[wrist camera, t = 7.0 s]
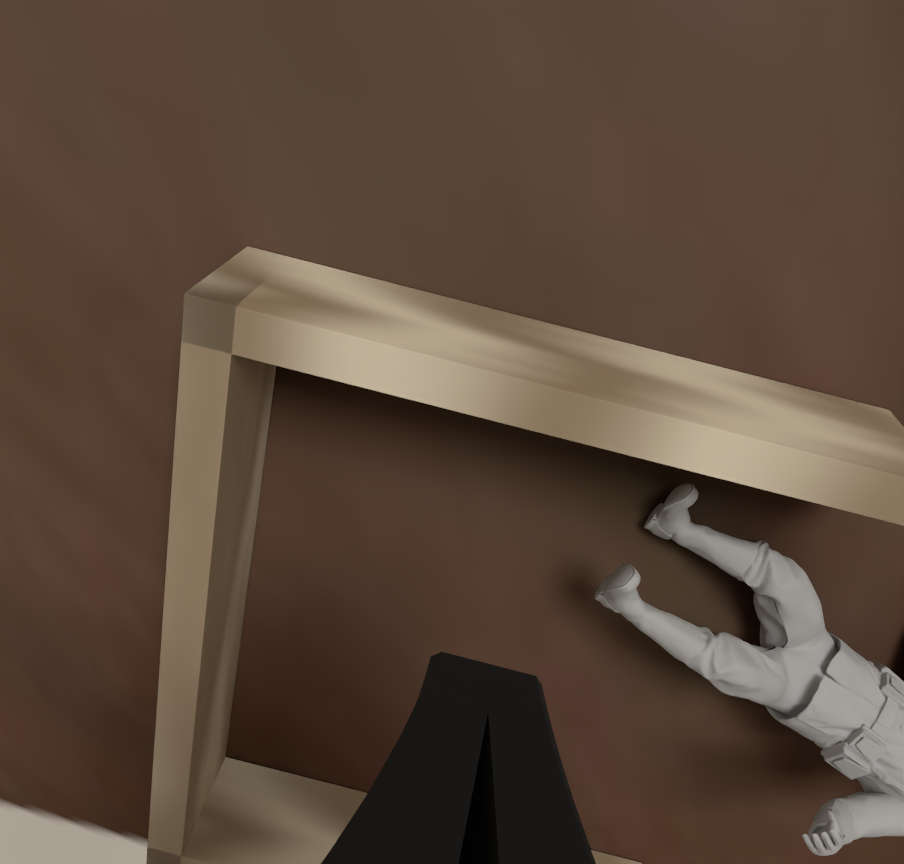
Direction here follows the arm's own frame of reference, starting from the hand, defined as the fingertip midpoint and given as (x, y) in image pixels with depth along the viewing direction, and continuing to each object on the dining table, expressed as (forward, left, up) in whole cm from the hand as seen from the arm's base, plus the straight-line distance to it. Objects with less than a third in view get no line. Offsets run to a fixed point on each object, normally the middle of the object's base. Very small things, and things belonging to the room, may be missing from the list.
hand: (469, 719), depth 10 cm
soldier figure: (+9, -5, -10) cm, 15 cm away
